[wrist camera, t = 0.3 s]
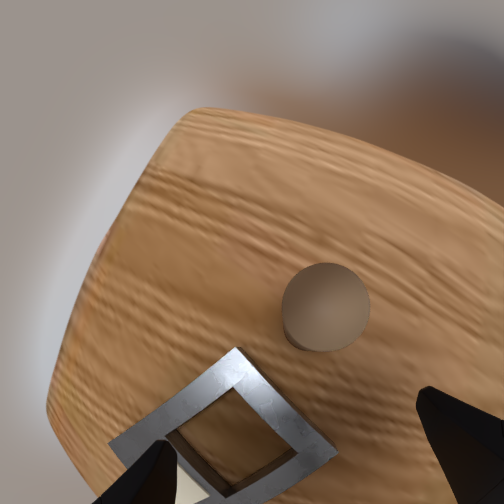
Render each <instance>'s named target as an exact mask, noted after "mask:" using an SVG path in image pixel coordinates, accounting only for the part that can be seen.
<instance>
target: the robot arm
mask: <svg viewBox="0 0 504 504" xmlns="http://www.w3.org/2000/svg"><path fill="white" fill-rule="evenodd" d="M416 410H417V412H418V415H419V417H420V420H421V423H422V425H423V428H424V431H425V434H426V436H427V439H428V441H429V443H430V445H431V447H432V449H433V451H434V453H435V455H436V457H437V459H438V461H439V463H440V465H441V467H442V470H443V472H444V474H445V476H446V478H447V480H448V482H449V484H450V487H451V489H452V491H453V493H454V496H455V498H456V500H457V502H458V504H504V420H501V419H500V418H497V417H495V416H493V415H491V414H488V413H486V412H484V411H482V410H480V409H478V408H475V407H473V406H471V405H469V404H467V403H465V402H463V401H460V400H458V399H456V398H454V397H452V396H450V395H448V394H446V393H444V392H442V391H440V390H438V389H436V388H434V387H432V386H427V387H425V388H423V389H421V390H420V391H419V393H418V397H417V401H416ZM176 493H177V452H176V450H175V449H174V448H173V446H172V445H171V444H170V442H169V441H168V440H160V439H159V440H156V441H155V442H154V443H153V444H152V445H151V446H150V447H149V448H148V449H147V450H146V451H145V452H144V453H143V454H142V455H141V456H140V457H139V458H138V459H137V460H136V461H135V462H134V463H133V464H132V465H131V466H130V468H129V469H128V470H127V471H126V472H125V473H124V474H123V475H122V476H120V477H119V478H118V479H117V480H116V481H115V482H114V483H113V484H112V485H111V486H110V487H109V488H108V489H107V490H106V491H105V492H104V493H103V494H102V495H101V497H99V498H97V500H95V501H94V502H93V503H92V504H175V500H176Z"/></svg>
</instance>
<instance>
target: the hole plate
mask: <svg viewBox="0 0 504 504" xmlns="http://www.w3.org/2000/svg"><path fill="white" fill-rule="evenodd" d="M232 387H234V388H235V390H236V391H237V392H238V393H239V394H240V395H241V396H242V397H243V398H244V399H245V400H246V402H247V403H248V404H249V405H250V406H251V407H252V408H253V409H254V410H255V411H256V412H257V413H258V414H259V415H260V416H261V417H262V418H263V419H264V420H265V421H266V422H267V423H268V424H269V425H270V426H271V427H272V428H273V429H274V430H275V431H276V432H277V433H278V434H279V435H280V436H281V437H282V438H283V439H284V440H285V441H286V442H287V443H288V444H289V445H290V446H291V447H292V448H291V449H290V450H288V451H287V452H286V453H284V454H283V455H281V456H280V457H278V458H277V459H276V460H274V461H273V462H271V463H270V464H268V465H266V466H265V467H263V468H262V469H260V470H259V471H257V472H255V473H254V474H252V475H251V476H249V477H247V478H246V479H244V480H242V481H240V482H239V483H237V484H235V485H233V486H230V485H229V484H228V483H227V482H226V481H225V480H224V479H222V478H221V477H220V476H219V475H218V474H217V473H216V472H215V471H214V470H213V469H212V468H211V467H210V466H209V465H208V464H207V463H206V462H205V461H204V460H203V459H202V458H201V457H200V456H199V455H198V454H197V453H196V451H195V450H194V449H193V448H192V447H191V446H190V445H189V444H188V443H187V442H186V440H185V439H184V438H183V437H182V436H181V435H180V434H179V432H178V431H177V430H176V428H178V427H179V426H181V425H182V424H184V423H185V422H186V421H188V420H189V419H191V418H192V417H194V416H195V415H196V414H198V413H199V412H201V411H202V410H203V409H205V408H206V407H207V406H209V405H210V404H211V403H213V402H214V401H215V400H217V399H218V398H219V397H221V396H222V395H223V394H225V393H226V392H227V391H228V390H230V389H231V388H232ZM159 439H160V440H168V441H169V442H170V444H171V445H172V446H173V448H174V449H175V450H176V452H177V493H176V500H175V504H263V503H264V502H266V501H268V500H270V499H272V498H273V497H275V496H277V495H279V494H280V493H282V492H284V491H285V490H287V489H288V488H290V487H292V486H293V485H295V484H296V483H298V482H299V481H301V480H302V479H304V478H305V477H307V476H308V475H310V474H311V473H313V472H314V471H315V470H317V469H318V468H319V467H321V466H322V465H324V464H325V463H326V462H328V461H329V460H330V459H331V458H333V457H334V456H335V455H336V454H338V453H339V451H338V449H337V448H336V446H335V444H334V442H333V441H331V440H330V439H329V438H328V437H327V436H326V435H325V434H324V433H323V432H322V431H321V430H320V429H319V428H318V427H317V426H316V425H315V424H314V423H312V422H311V421H310V420H309V419H308V418H307V417H306V416H305V415H304V414H303V413H302V412H301V411H300V410H299V409H298V408H297V407H296V406H295V405H294V404H293V403H292V402H291V401H290V400H289V399H288V398H287V397H286V396H285V394H284V393H283V392H282V391H281V390H280V389H279V388H278V387H277V386H276V385H275V384H274V383H273V382H272V381H271V380H270V379H269V378H268V377H267V376H266V374H265V373H264V372H263V371H262V370H261V369H260V368H259V367H258V366H257V365H256V364H255V362H254V361H253V360H252V359H251V358H250V357H249V356H248V355H247V354H246V352H245V351H244V350H243V349H242V348H241V347H235V348H233V349H232V350H231V351H230V352H229V353H227V354H226V355H225V356H224V357H223V358H221V359H220V360H219V361H218V362H217V363H215V364H214V365H213V366H212V367H210V368H209V369H208V370H207V371H205V372H204V373H203V374H202V375H200V376H199V377H198V378H197V379H195V380H194V381H193V382H192V383H190V384H189V385H188V386H186V387H185V388H184V389H183V390H181V391H180V392H179V393H177V394H176V395H175V396H173V397H172V398H171V399H169V400H168V401H167V402H165V403H164V404H163V405H161V406H160V407H159V408H157V409H156V410H155V411H153V412H152V413H150V414H149V415H148V416H146V417H145V418H144V419H142V420H141V421H139V422H138V423H136V424H135V425H134V426H132V427H131V428H129V429H128V430H126V431H125V432H124V433H122V434H121V435H119V436H118V437H116V438H115V439H113V440H112V441H110V442H109V443H108V445H109V446H110V447H111V449H112V450H113V451H114V453H115V454H116V455H117V457H118V458H119V459H120V461H121V462H122V463H123V464H124V466H125V467H126V468H127V469H129V468H130V466H131V465H132V464H133V463H134V462H135V461H136V460H137V459H138V458H139V457H140V456H141V455H142V454H143V453H144V452H145V451H146V450H147V449H148V448H149V447H150V446H151V445H152V444H153V443H154V442H155V441H156V440H159Z"/></svg>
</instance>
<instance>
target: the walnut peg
mask: <svg viewBox="0 0 504 504" xmlns="http://www.w3.org/2000/svg"><path fill="white" fill-rule="evenodd" d="M369 314H370V299H369V295H368V292H367V289H366V287H365V285H364V284H363V282H362V281H361V279H360V278H359V277H358V276H357V275H356V274H355V273H354V272H353V271H351V270H350V269H348V268H346V267H344V266H341V265H338V264H334V263H319V264H314V265H311V266H309V267H306V268H305V269H303V270H301V271H300V272H299V273H298V274H296V275H295V276H294V277H293V278H292V280H291V281H290V283H289V284H288V286H287V288H286V290H285V293H284V296H283V300H282V316H283V326H284V332H285V335H286V338H287V339H288V341H289V342H290V343H291V344H292V345H293V346H295V347H296V348H298V349H301V350H304V351H323V352H328V351H335V350H339V349H342V348H344V347H346V346H348V345H350V344H351V343H353V342H354V341H355V340H356V339H357V338H358V337H359V336H360V335H361V333H362V332H363V330H364V329H365V327H366V325H367V322H368V319H369Z"/></svg>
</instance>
